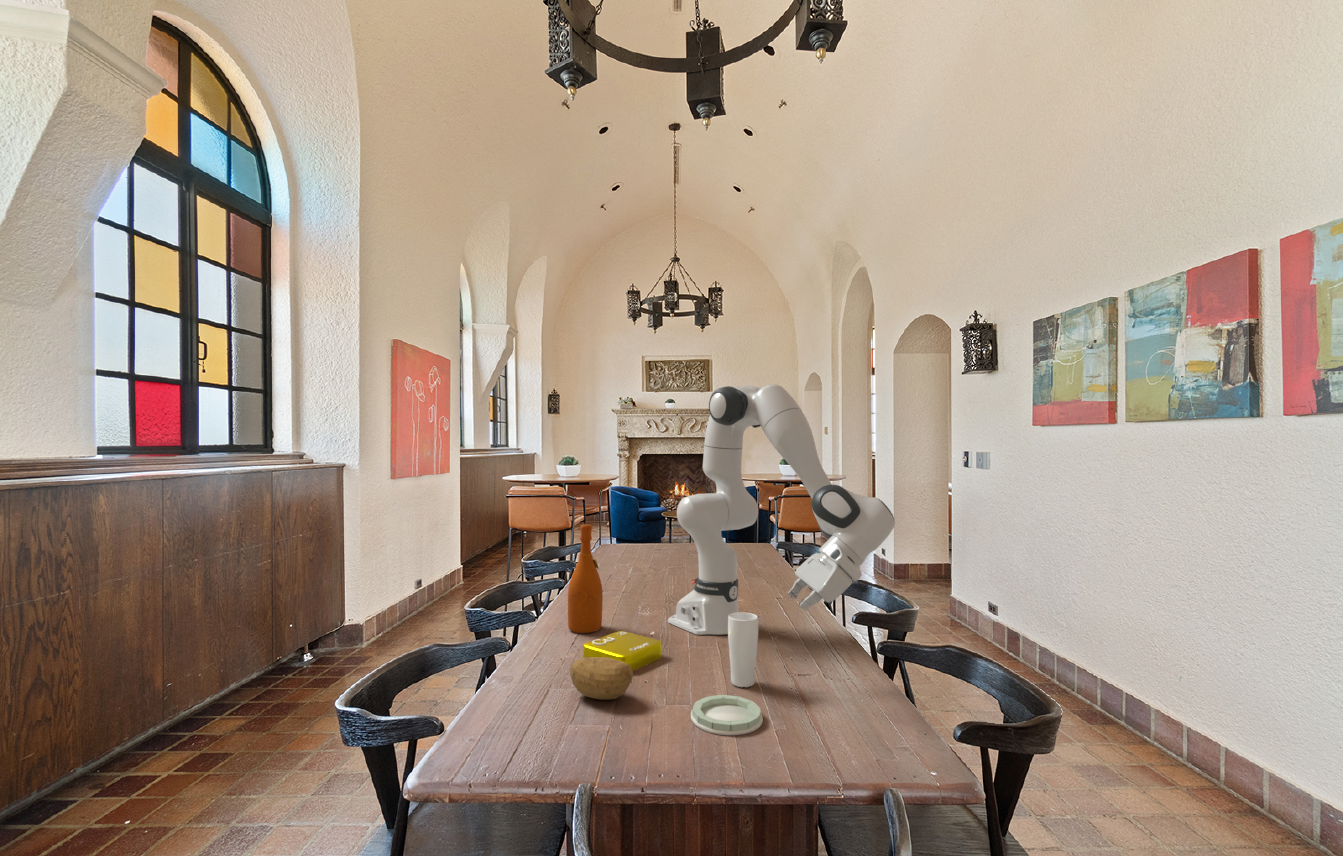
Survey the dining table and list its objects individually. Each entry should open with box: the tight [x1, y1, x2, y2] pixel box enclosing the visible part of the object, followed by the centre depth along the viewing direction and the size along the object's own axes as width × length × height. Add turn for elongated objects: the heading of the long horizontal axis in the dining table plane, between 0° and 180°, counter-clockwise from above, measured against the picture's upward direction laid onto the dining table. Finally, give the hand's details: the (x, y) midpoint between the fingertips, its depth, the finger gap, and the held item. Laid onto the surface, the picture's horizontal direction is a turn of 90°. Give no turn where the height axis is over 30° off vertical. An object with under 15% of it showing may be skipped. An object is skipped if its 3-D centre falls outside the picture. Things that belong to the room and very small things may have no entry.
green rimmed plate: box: [690, 694, 764, 737], centre depth 119 cm, size 14×14×2 cm
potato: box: [569, 657, 634, 701], centre depth 128 cm, size 10×14×8 cm
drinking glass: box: [727, 611, 759, 688], centre depth 136 cm, size 7×7×15 cm
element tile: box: [582, 630, 663, 672], centre depth 152 cm, size 15×15×5 cm
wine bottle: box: [567, 523, 604, 634], centre depth 175 cm, size 10×10×30 cm
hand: (795, 602), depth 137 cm, fingers open, 8 cm apart
